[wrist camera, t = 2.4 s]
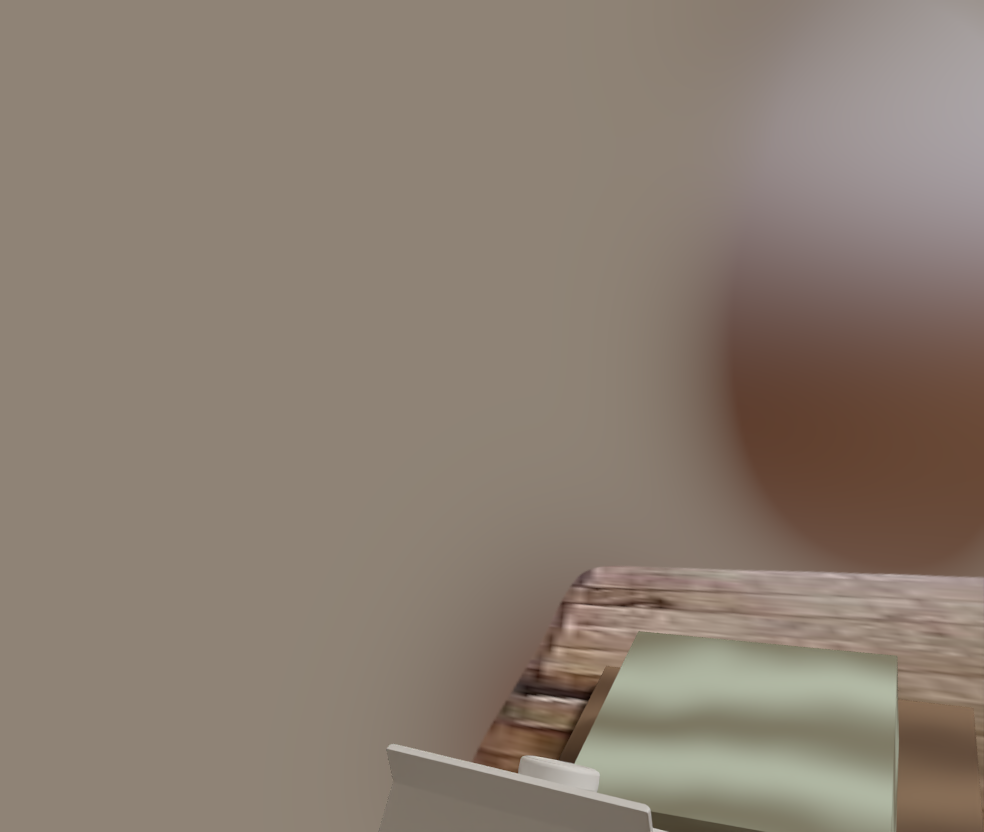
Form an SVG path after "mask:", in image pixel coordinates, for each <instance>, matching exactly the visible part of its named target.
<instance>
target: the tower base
mask: <svg viewBox="0 0 984 832" xmlns="http://www.w3.org/2000/svg"><path fill="white" fill-rule="evenodd" d="M559 761H563V762H568V763H573V764H577V765H581V766H585V767H589V768H592V769H595V770H596V771H598V772H599V773H600V779H599V786H598V790H597V793H600V794H605V795H609V796H613V797H617V798H621V799H625V800H630V801H634V802H638V803H642V804H646V805H647V806H648V807H649V808H650V810H651V818H652V827H653V828H656V829H659V830H663V831H667V832H984V829H983V817H982V805H981V793H980V781H979V768H978V756H977V744H976V732H975V720H974V708H970V707H962V706H953V705H944V704H935V703H926V702H918V701H909V700H900V699H898V665H897V656H893V655H882V654H872V653H861V652H851V651H840V650H830V649H819V648H809V647H798V646H788V645H777V644H767V643H756V642H746V641H735V640H725V639H714V638H703V637H693V636H682V635H672V634H661V633H651V632H640V631H638V633H637V636H636V638H635V640H634V642H633V644H632V646H631V648H630V650H629V652H628V654H627V656H626V658H625V660H624V662H623V664H622V666H621V668H618V667H609V666H606V667H605V669H604V671H603V673H602V675H601V677H600V679H599V681H598V683H597V685H596V687H595V689H594V691H593V693H592V695H591V697H590V699H589V701H588V703H587V705H586V707H585V709H584V711H583V713H582V715H581V716H580V718H579V720H578V722H577V724H576V726H575V728H574V730H573V732H572V734H571V736H570V738H569V740H568V742H567V744H566V746H565V748H564V750H563V752H562V754H561V756H560V758H559Z"/></svg>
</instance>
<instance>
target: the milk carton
mask: <svg viewBox="0 0 984 832" xmlns="http://www.w3.org/2000/svg"><path fill="white" fill-rule="evenodd" d="M386 751H387V755H388V760H389V764H390V769H391V773H392V778H393V784H392V787H391V791H390V794H389V798H388V801H387V804H386V808H385V811H384V815H383V818H382V821H381V825H380V828H379V832H667V831H663V830H659V829H656V828H653V827H652V818H651V810H650V808H649V807H648V806H647V805H646V804H642V803H638V802H634V801H630V800H625V799H621V798H617V797H613V796H609V795H605V794H600V793H597V790H598V786H599V779H600V773H599V772H598V771H596V770H595V769H592V768H589V767H585V766H581V765H577V764H573V763H568V762H563V761H559V760H554V759H549V758H543V757H537V756H523V757H522V758H521V759H520V765H519V771H518V774H517V773H513V772H509V771H505V770H501V769H496V768H492V767H488V766H484V765H480V764H476V763H471V762H467V761H463V760H459V759H455V758H450V757H446V756H442V755H438V754H434V753H430V752H426V751H421V750H417V749H413V748H409V747H405V746H401V745H397V744H391V745H389V746H388V748H387V749H386Z"/></svg>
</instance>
